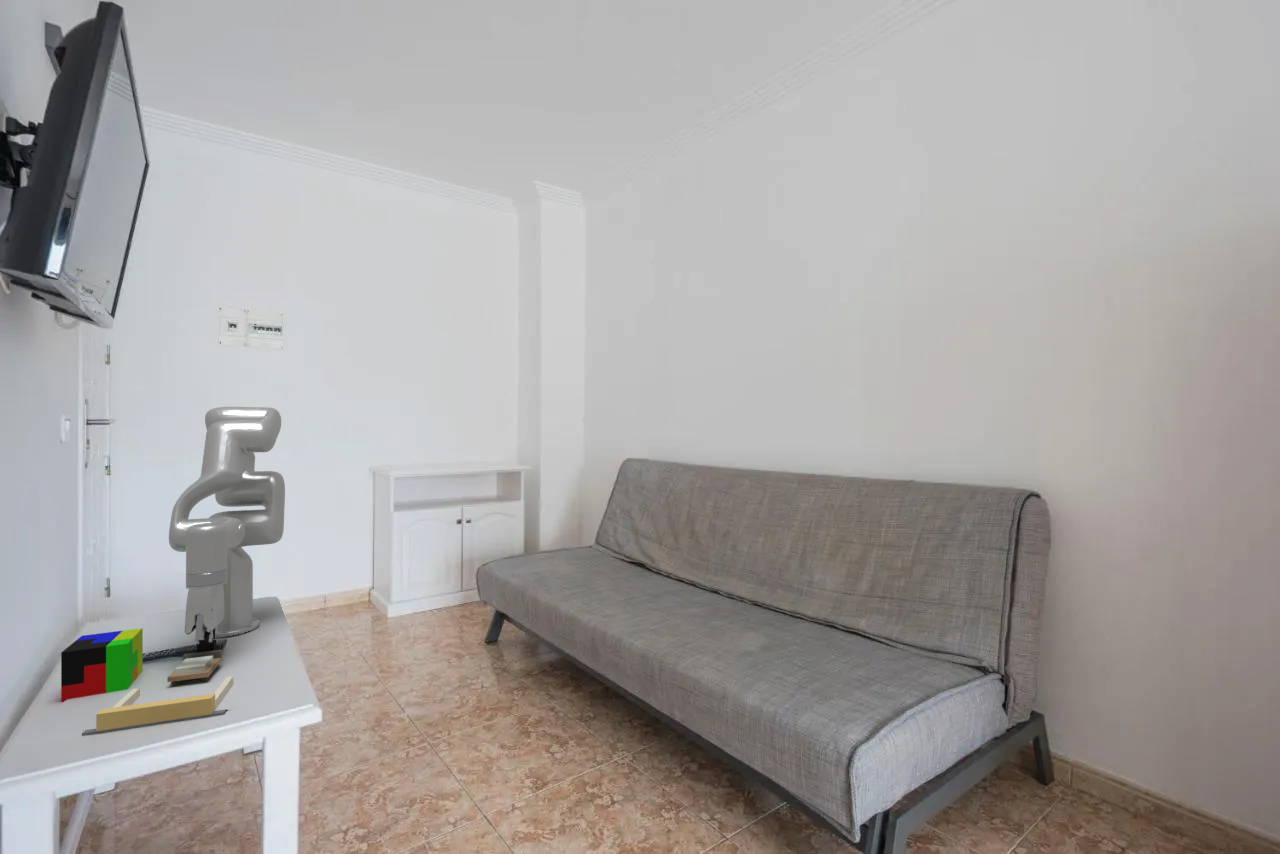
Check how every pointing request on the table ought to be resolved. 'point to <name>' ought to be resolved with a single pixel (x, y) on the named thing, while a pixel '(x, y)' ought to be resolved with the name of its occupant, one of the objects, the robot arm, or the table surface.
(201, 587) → the robot arm
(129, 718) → the mat
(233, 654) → the table surface
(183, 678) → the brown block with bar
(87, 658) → the puzzle toy
